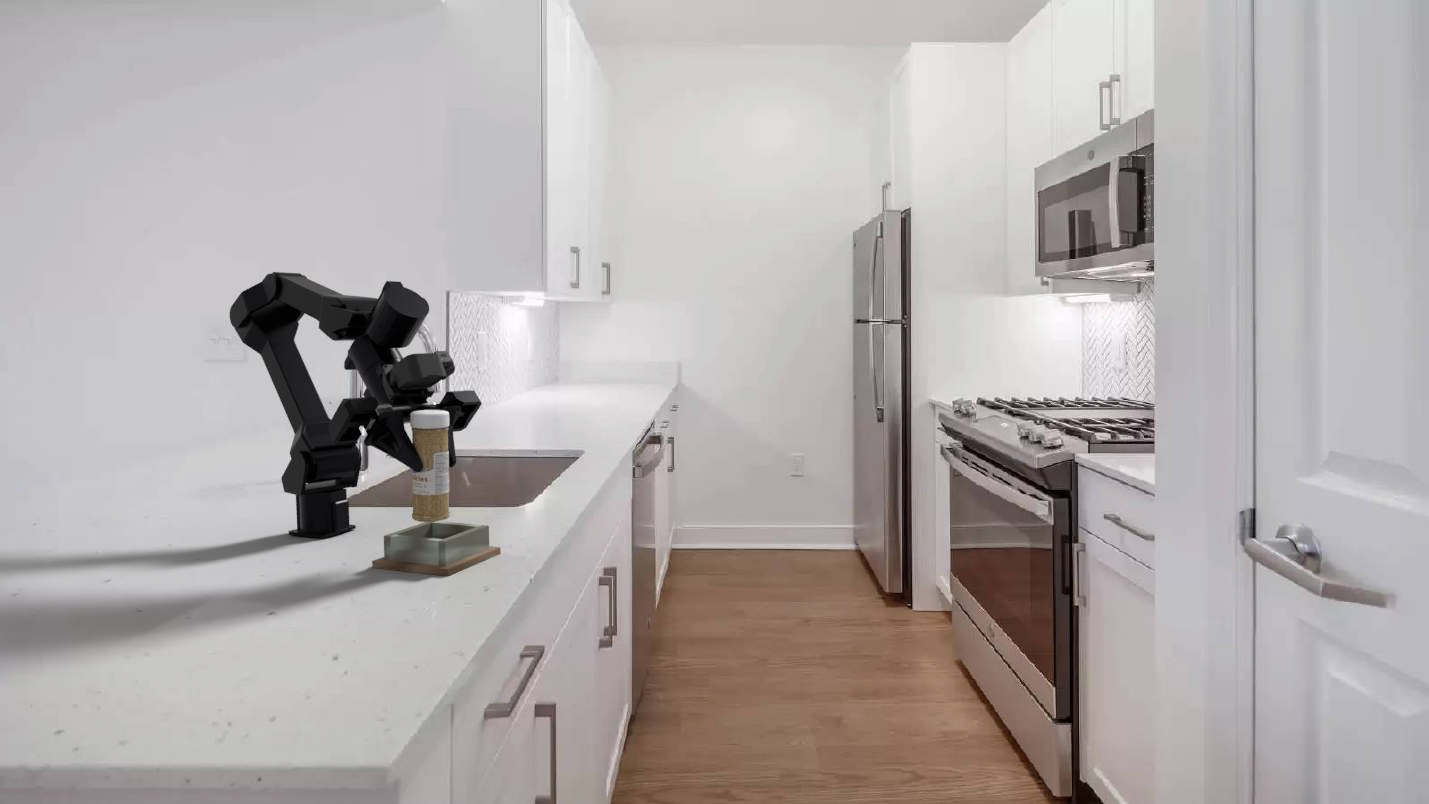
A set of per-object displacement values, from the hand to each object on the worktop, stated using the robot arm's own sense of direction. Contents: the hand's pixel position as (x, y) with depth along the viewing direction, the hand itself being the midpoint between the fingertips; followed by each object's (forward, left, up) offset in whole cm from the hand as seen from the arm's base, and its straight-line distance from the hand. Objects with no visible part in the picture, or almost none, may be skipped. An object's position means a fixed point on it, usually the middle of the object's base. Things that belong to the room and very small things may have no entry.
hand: (437, 467), depth 106 cm
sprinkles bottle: (-1, 0, -7) cm, 7 cm away
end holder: (-2, +2, -12) cm, 12 cm away
